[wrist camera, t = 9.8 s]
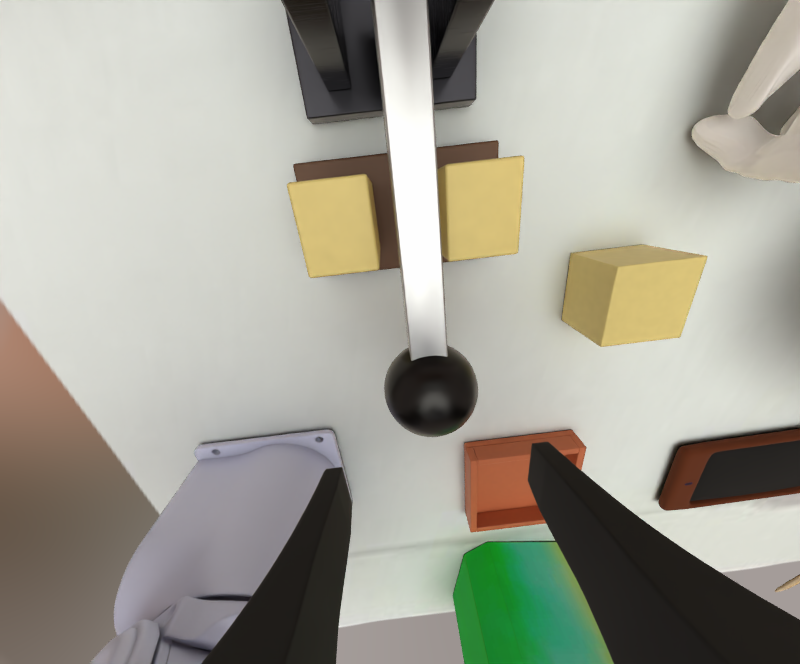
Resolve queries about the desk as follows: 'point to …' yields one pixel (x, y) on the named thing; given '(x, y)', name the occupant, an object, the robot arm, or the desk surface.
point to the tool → (789, 584)
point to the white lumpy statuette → (742, 134)
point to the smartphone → (733, 470)
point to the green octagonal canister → (524, 608)
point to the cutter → (418, 228)
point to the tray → (508, 479)
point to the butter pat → (631, 293)
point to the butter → (374, 215)
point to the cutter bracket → (357, 58)
